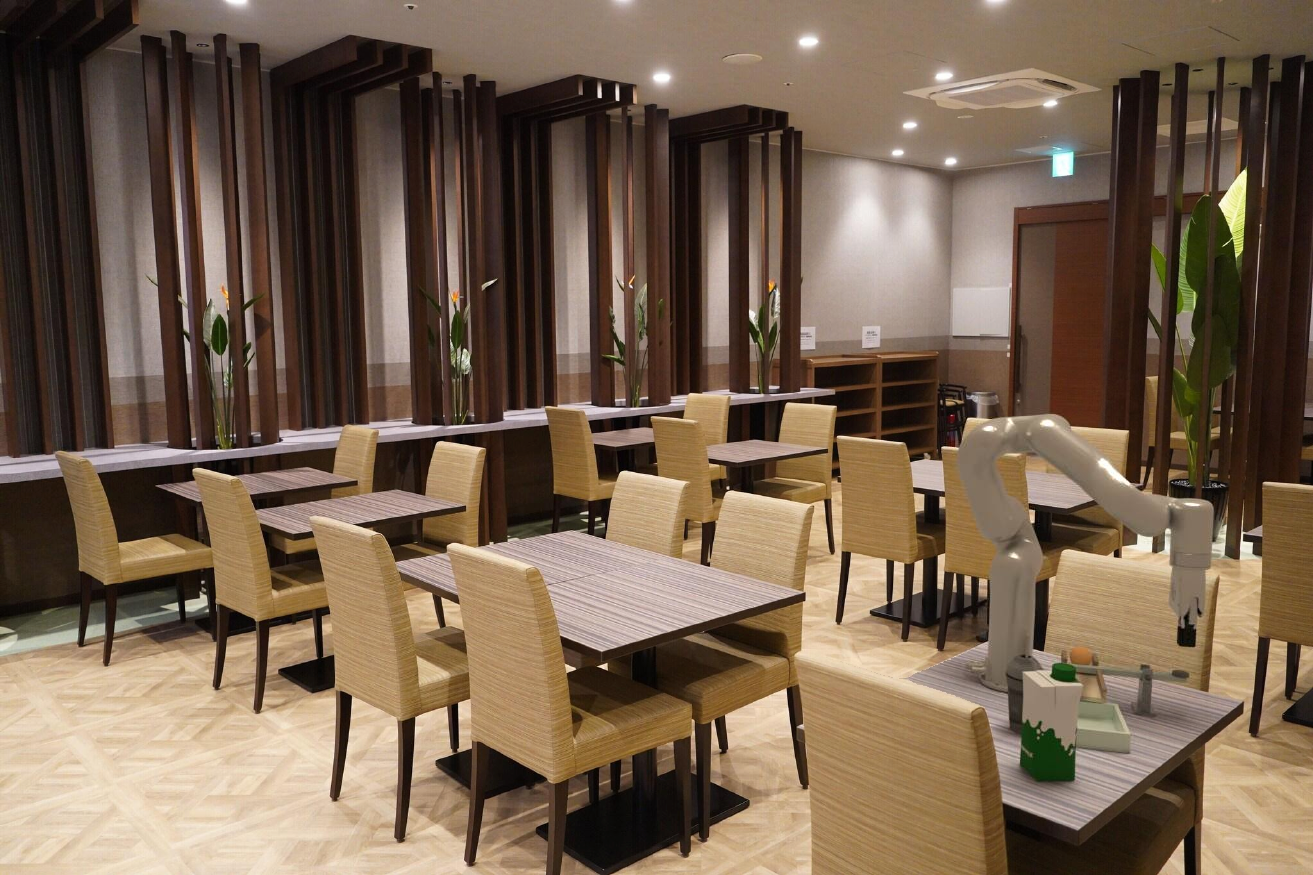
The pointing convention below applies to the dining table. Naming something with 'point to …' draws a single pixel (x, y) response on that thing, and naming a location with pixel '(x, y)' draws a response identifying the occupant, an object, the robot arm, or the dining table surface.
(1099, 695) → the ramp
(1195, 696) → the dining table surface
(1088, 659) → the ball
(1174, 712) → the dining table surface
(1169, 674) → the lever
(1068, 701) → the milk carton
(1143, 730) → the dining table surface
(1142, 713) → the pivot stand
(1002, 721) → the dining table surface
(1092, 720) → the shallow mint tray
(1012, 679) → the beverage cup
